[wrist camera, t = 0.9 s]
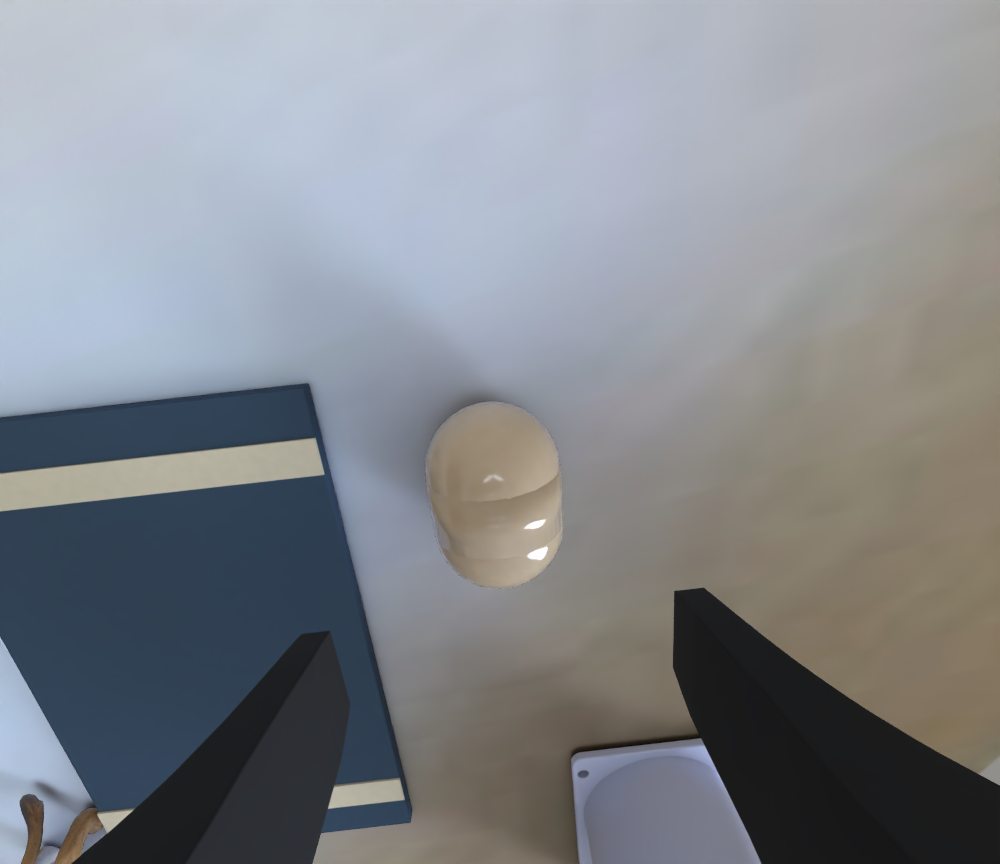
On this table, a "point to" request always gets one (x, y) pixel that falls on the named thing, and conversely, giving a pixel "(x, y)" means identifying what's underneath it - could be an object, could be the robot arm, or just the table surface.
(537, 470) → the egg
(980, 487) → the table surface
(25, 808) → the lion figurine
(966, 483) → the table surface
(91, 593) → the towel
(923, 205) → the table surface
